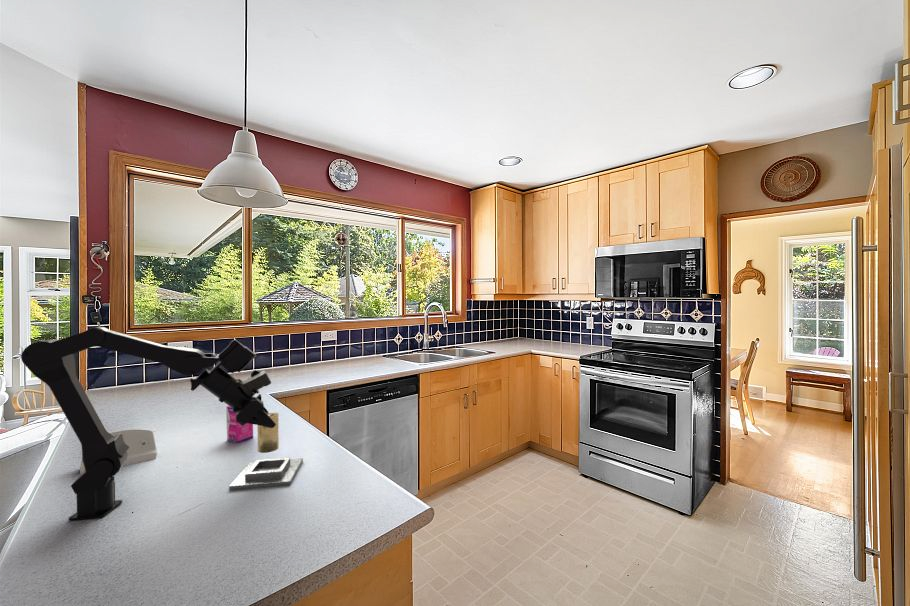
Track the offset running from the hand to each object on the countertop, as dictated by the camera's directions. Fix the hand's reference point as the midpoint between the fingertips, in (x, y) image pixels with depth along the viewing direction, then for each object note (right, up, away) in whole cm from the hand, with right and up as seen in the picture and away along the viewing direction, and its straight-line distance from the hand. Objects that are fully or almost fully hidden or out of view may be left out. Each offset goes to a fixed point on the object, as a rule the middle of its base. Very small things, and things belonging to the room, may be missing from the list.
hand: (273, 423), depth 102 cm
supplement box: (-23, -14, +26) cm, 38 cm away
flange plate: (-1, -13, -1) cm, 13 cm away
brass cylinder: (-1, -7, -1) cm, 7 cm away
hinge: (-48, -14, +9) cm, 51 cm away
